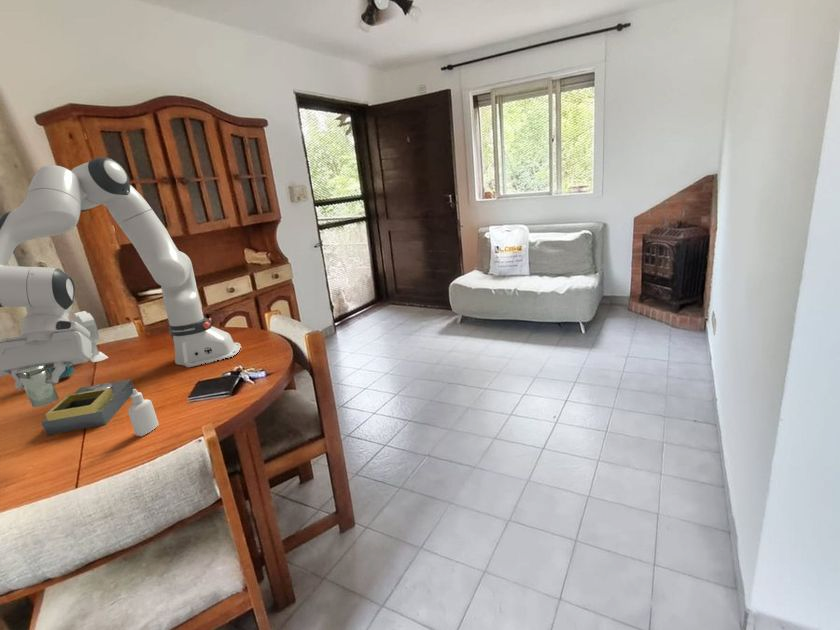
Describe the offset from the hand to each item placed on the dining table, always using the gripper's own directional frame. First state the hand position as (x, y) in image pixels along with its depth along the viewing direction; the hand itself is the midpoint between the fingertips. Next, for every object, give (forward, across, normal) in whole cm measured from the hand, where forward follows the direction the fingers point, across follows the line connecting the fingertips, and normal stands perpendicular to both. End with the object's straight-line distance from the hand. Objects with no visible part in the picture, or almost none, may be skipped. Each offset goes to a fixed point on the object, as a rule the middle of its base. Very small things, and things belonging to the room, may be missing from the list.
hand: (36, 385), depth 99 cm
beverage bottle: (-24, -23, +49) cm, 59 cm away
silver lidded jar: (+3, 0, +4) cm, 5 cm away
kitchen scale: (-1, -1, +26) cm, 26 cm away
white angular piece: (-37, -21, +62) cm, 75 cm away
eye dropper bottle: (+12, +19, +13) cm, 26 cm away
